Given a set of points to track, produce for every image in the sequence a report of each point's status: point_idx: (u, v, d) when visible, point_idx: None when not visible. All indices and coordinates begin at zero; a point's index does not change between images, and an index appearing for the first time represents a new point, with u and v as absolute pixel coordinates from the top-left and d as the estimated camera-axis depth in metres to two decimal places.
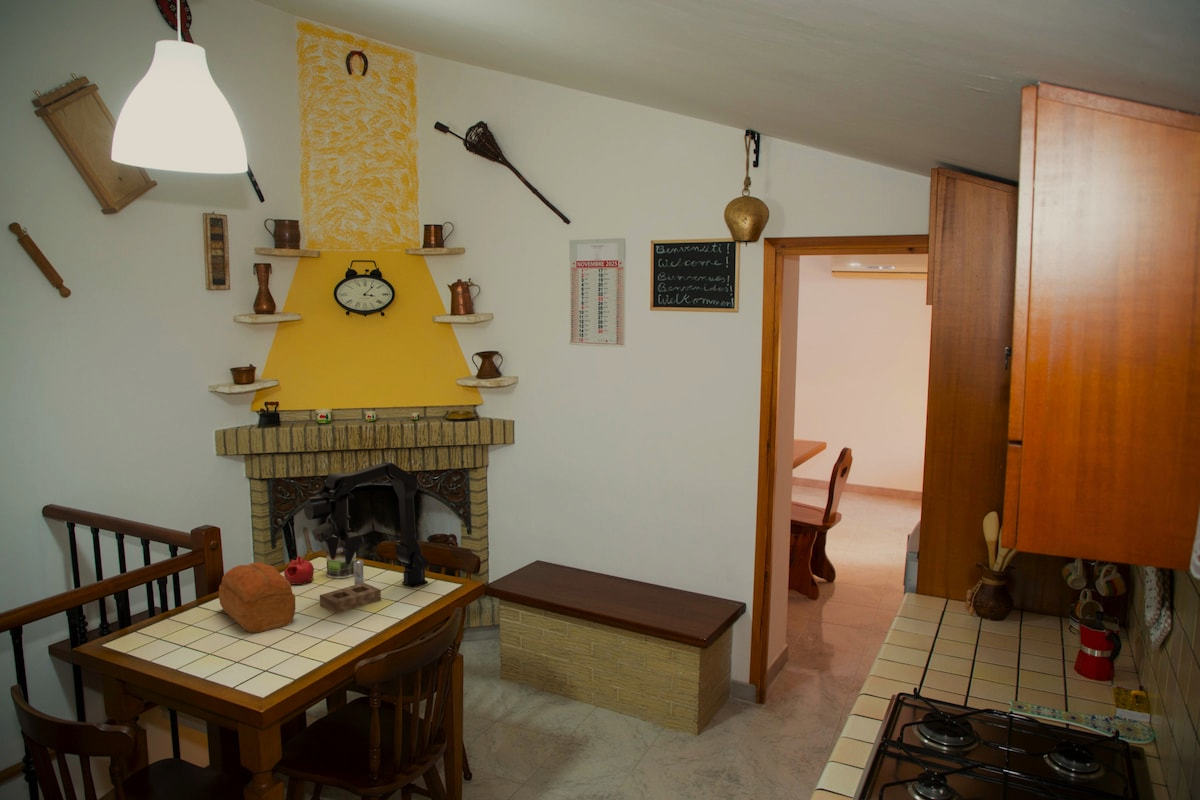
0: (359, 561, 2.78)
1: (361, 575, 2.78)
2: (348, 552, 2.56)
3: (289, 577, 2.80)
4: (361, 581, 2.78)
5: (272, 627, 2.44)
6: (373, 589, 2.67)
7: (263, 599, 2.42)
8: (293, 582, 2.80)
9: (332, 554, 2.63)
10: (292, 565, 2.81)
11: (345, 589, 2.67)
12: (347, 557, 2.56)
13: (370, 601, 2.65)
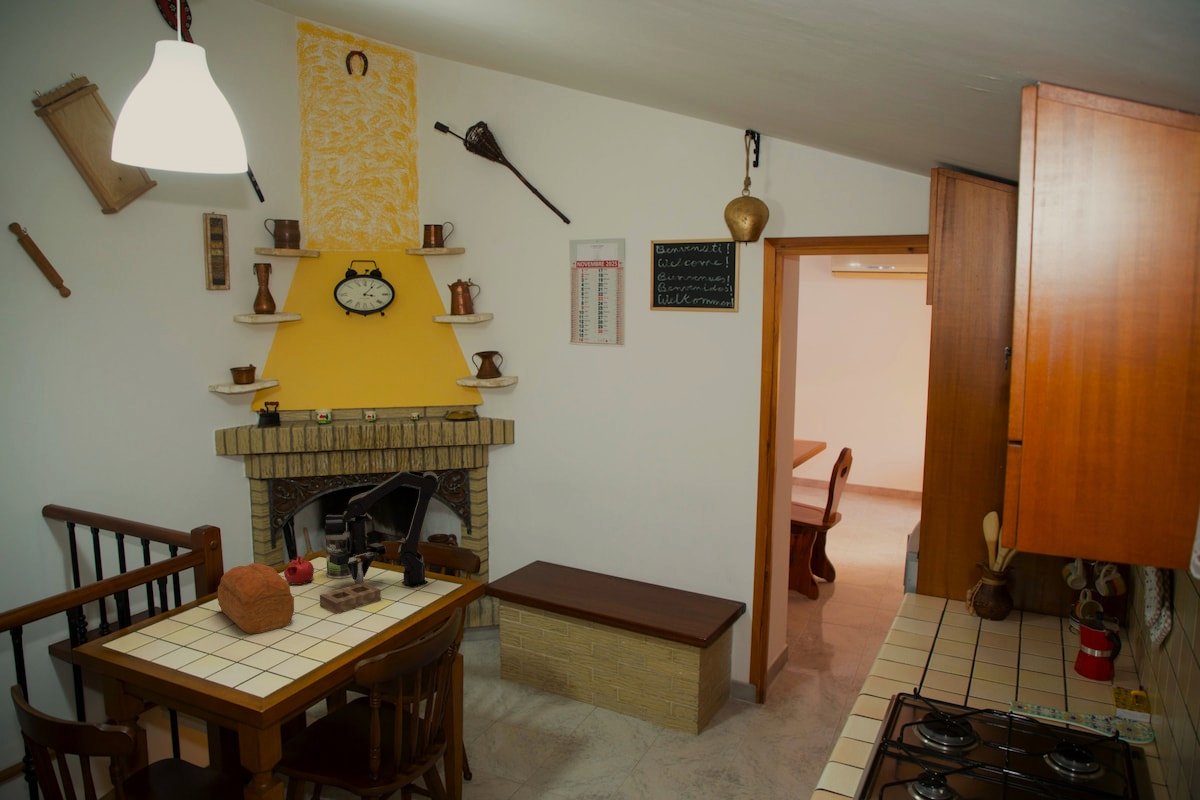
0: (359, 561, 2.78)
1: (361, 575, 2.78)
2: (350, 567, 2.77)
3: (289, 577, 2.80)
4: (361, 581, 2.78)
5: (270, 628, 2.43)
6: (373, 589, 2.67)
7: (261, 600, 2.41)
8: (293, 582, 2.80)
9: None
10: (292, 565, 2.81)
11: (345, 589, 2.67)
12: (350, 571, 2.77)
13: (370, 601, 2.65)
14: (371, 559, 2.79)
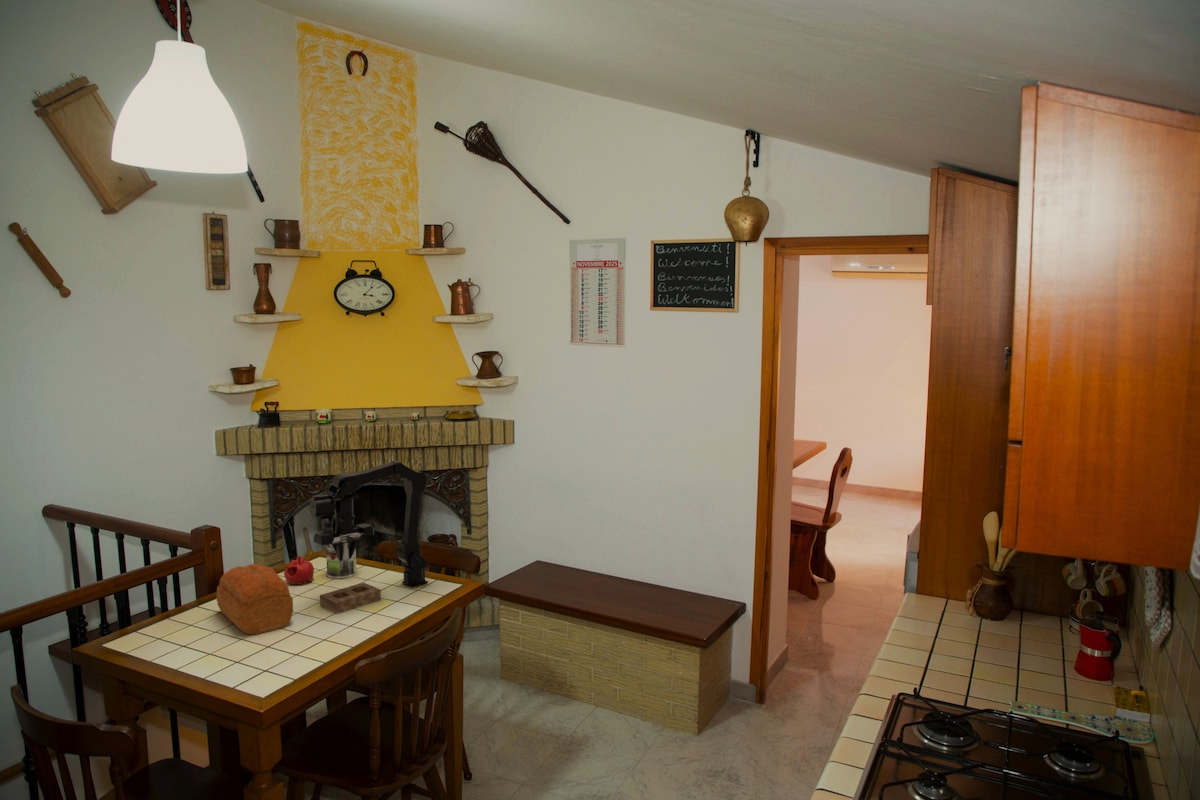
0: (345, 542, 2.65)
1: (347, 556, 2.65)
2: (335, 548, 2.64)
3: (289, 577, 2.80)
4: (347, 563, 2.65)
5: (269, 629, 2.42)
6: (373, 589, 2.67)
7: (260, 601, 2.41)
8: (293, 582, 2.80)
9: None
10: (292, 565, 2.81)
11: (345, 589, 2.67)
12: (336, 552, 2.65)
13: (370, 601, 2.65)
14: (358, 540, 2.66)
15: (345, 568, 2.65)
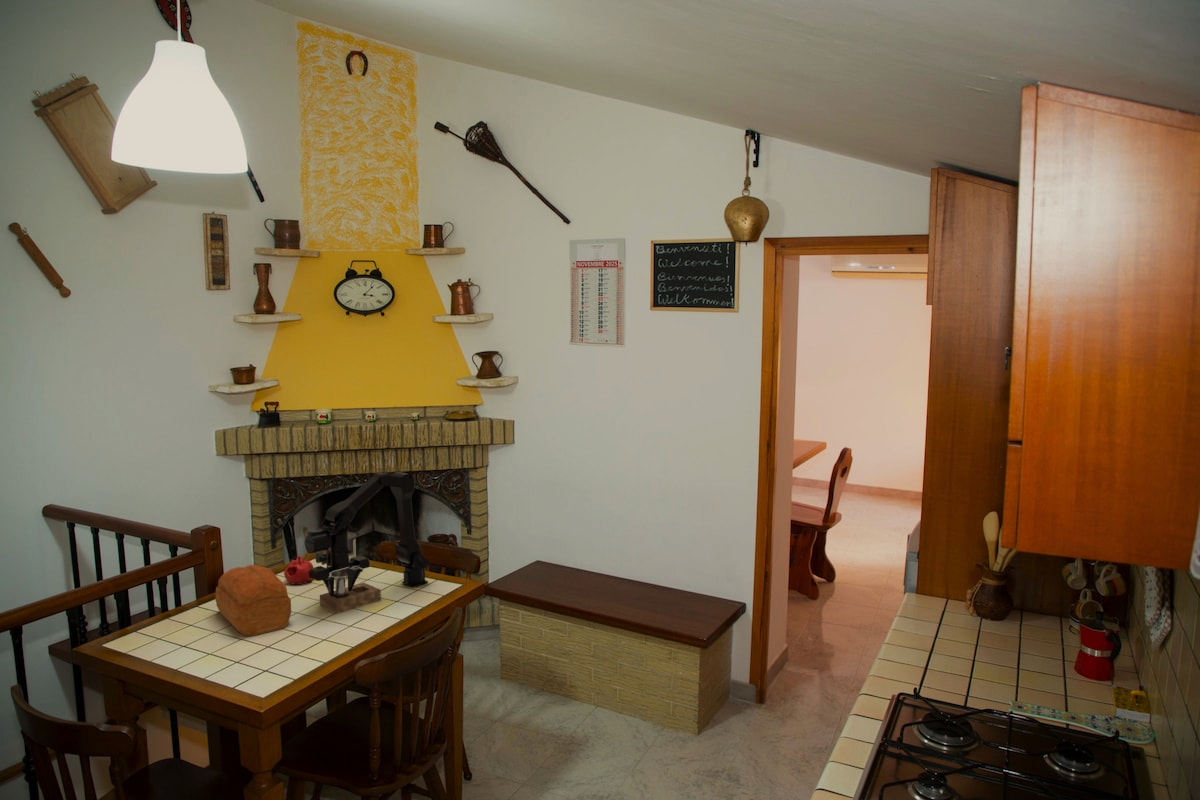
0: (341, 578, 2.61)
1: (343, 593, 2.61)
2: (326, 583, 2.58)
3: (289, 577, 2.80)
4: None
5: (267, 630, 2.41)
6: (373, 589, 2.67)
7: (258, 602, 2.40)
8: (293, 582, 2.80)
9: (348, 587, 2.64)
10: (292, 565, 2.81)
11: (345, 589, 2.67)
12: (327, 588, 2.59)
13: (370, 601, 2.65)
14: (358, 572, 2.63)
15: None
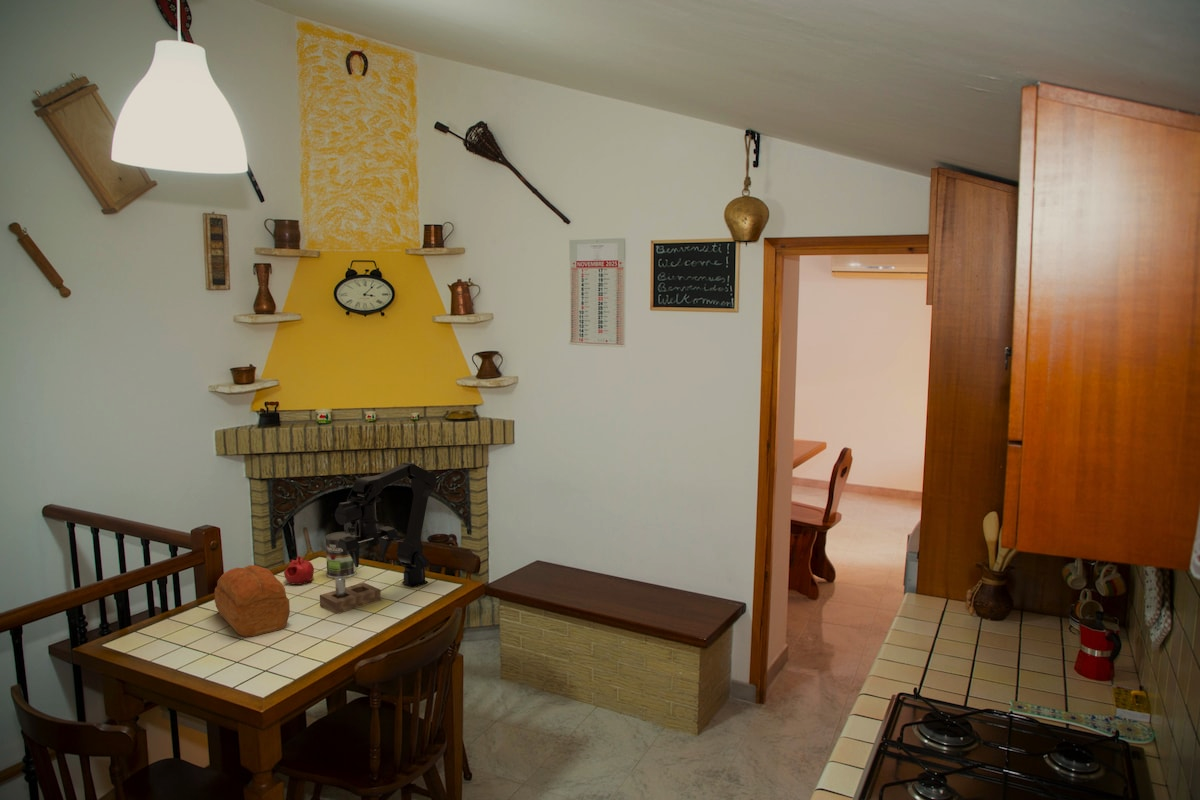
0: (341, 578, 2.61)
1: (343, 593, 2.61)
2: (351, 554, 2.62)
3: (289, 577, 2.80)
4: None
5: (265, 631, 2.40)
6: (373, 589, 2.67)
7: (256, 603, 2.39)
8: (293, 582, 2.80)
9: (380, 555, 2.69)
10: (292, 565, 2.81)
11: (345, 589, 2.67)
12: (352, 559, 2.62)
13: (370, 601, 2.65)
14: (389, 541, 2.68)
15: None
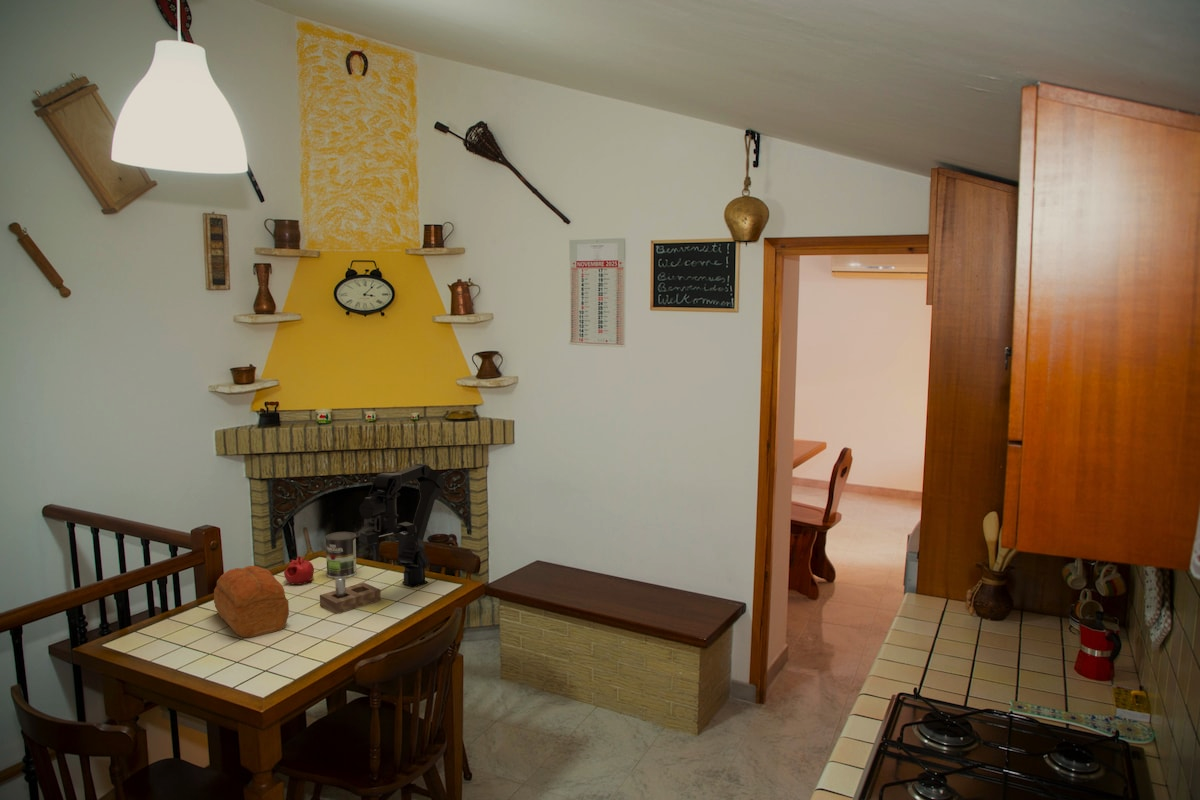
0: (341, 578, 2.61)
1: (343, 593, 2.61)
2: (371, 548, 2.65)
3: (289, 577, 2.80)
4: None
5: (264, 632, 2.40)
6: (373, 589, 2.67)
7: (255, 604, 2.38)
8: (293, 582, 2.80)
9: (399, 550, 2.73)
10: (292, 565, 2.81)
11: (345, 589, 2.67)
12: (372, 553, 2.66)
13: (370, 601, 2.65)
14: (408, 536, 2.71)
15: None
